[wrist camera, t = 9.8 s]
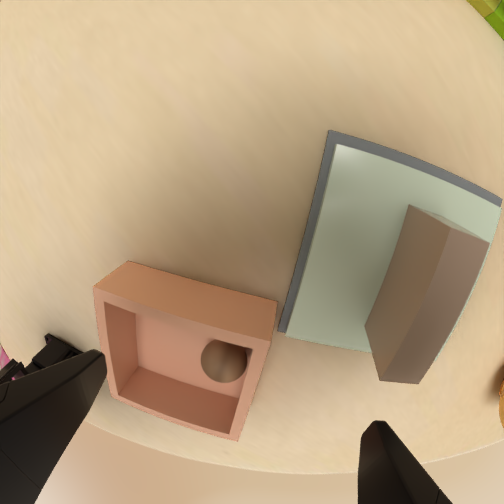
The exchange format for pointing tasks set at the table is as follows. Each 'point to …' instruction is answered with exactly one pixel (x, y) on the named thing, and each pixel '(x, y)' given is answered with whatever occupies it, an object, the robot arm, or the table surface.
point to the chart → (491, 13)
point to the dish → (179, 345)
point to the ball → (223, 361)
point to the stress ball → (501, 403)
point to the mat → (321, 184)
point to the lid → (390, 263)
